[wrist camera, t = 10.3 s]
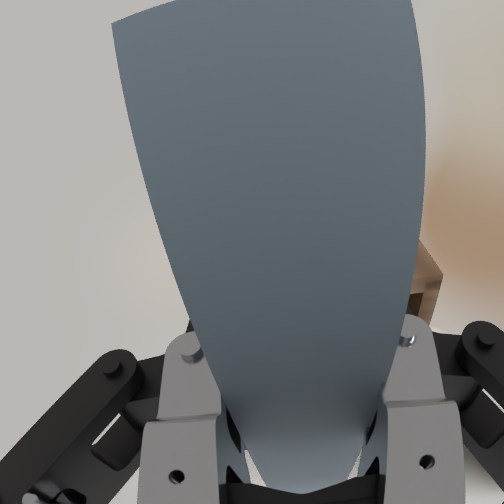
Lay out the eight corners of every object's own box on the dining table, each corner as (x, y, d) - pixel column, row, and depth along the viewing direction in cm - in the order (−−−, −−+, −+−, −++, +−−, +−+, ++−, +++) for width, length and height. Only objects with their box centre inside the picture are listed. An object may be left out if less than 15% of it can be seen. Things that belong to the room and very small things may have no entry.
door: (325, 342, 18) (307, 58, 10) (339, 494, 10) (407, -13, 2) (263, 347, 19) (210, 71, 11) (252, 498, 10) (43, 58, 2)
